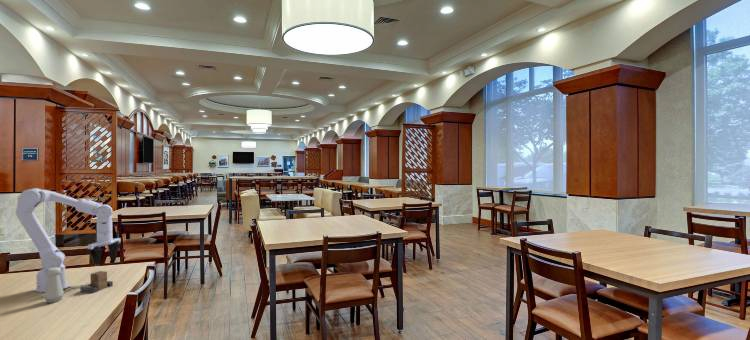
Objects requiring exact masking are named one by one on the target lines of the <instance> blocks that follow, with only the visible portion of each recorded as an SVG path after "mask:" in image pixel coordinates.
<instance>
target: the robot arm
mask: <svg viewBox="0 0 750 340" xmlns="http://www.w3.org/2000/svg"><path fill="white" fill-rule="evenodd" d="M16 200H17V203H16V209H15V215H16V217H17V219H18V220H19V222H20V223H21V225H22V227H23V228H24V230H25V231H26V233H27V234H28V235H27V236H29V238H30V239H31V241H32V243H34V246H35V248H36V249H37V251H38V253H39V258H40V259H41V266H42V269H39V271H38V272H37V274H36V278H35V279H36V280H35V281H36V282H35V283H36V289H35V290H34V292H38V293H39V292H40V293H45V290H46V286H47V281H48V276H49V275H47V274H46V272H47V270H48V269H50V268H55V267H59V268H60V269H61V273H60V274H59V277H60V281H61V285H62V288H63V290H65V289H67V288H71V287H72V286H71V285H69V284H66V265H64V262H65V260H66V255H65V253H64V252H62V251H60V250H59V249H58V247H57V246H56V245H54V243H53V242H52V240H51V239H50V237H49V235H48V234H47V232H46V230H45V229H44V227H43V225H42V224H41V222H40V220H39V219H38V217H37V215H36V214H35V213H34V212H35V210H36V209H37V207H38V206H39V204H41V203H45V202H47V203H48V202H54V203H59V204H63V205H66V206H69V207H74V208H75V211H77V212H80V213H84V214H88V215H91V216H96V221H97V222H96V242H93V243H89V244H87V251H88V253H89V254H90V255H91V258H92V259H93V263H94V264H95V265H100V264H101V257H102V252H103V248H101V247H105V246H107V248H108V251H109V252H108V253H109V259H110V260H116V257H117V254H118V251H119V249H120V247H121V246H122V243H121V241H122V240H121V239H122V238H121V237H117V238H116V237H115V238H114V237H113V216H112V214H113V208H112V206H110V205H108V204H105V203H104V204H103V202H96V201H93V200H91V198H88V197H87V198H81V199H78V198H77V199H76V198H74V197H70V196H67V195H65V194H62V193H59V192H55V191H52V190H49V189H41V188H39V187H34V188H30V189H26V190H24V191H22V192H21V193H20V194H19V196H18V197H17V199H16Z"/></svg>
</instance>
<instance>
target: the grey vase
mask: <svg viewBox="0 0 750 340" xmlns="http://www.w3.org/2000/svg"><path fill="white" fill-rule="evenodd" d="M60 273H61V269H60V268H59V267H55V268H50V269H48V270H47V272H46V274H47V275H49V276H48V281H47V286H46V290H45V292H44V295H43V298H44V300H45V302H46V303H47V304H54V303H53V302H55V303H58V302H60V300H61V301H62V300H63V297H64V295H65V293H64V289H63V288H62V285H61V281H60V277H59V274H60Z"/></svg>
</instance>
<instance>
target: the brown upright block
mask: <svg viewBox="0 0 750 340" xmlns="http://www.w3.org/2000/svg"><path fill="white" fill-rule="evenodd" d="M107 281H108V271H102V270H99V271H95V272H92V273H90V283H91V286H95V287H98V291H97V292H100V291H102V290H106V289H107V288H108V287H107Z"/></svg>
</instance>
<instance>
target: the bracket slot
mask: <svg viewBox="0 0 750 340" xmlns="http://www.w3.org/2000/svg"><path fill="white" fill-rule="evenodd" d="M113 283H114V281H113V280H107V288H111V287H113V286H114V284H113ZM79 288H80V289H79V291H80V292H82V293H97V292H99V291H98V287H95V286H91V282H90V283H88V284H85V285H82V286H80V287H79Z"/></svg>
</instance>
